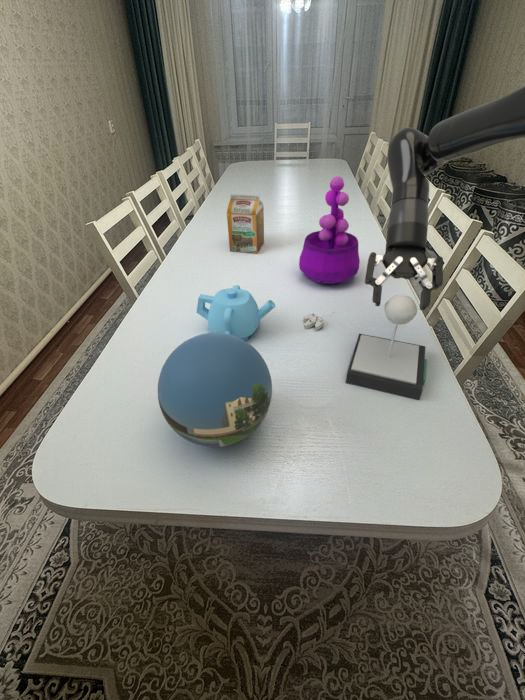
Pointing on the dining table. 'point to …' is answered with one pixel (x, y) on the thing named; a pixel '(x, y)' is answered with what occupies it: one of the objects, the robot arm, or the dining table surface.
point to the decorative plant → (331, 243)
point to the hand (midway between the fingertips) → (400, 307)
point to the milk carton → (245, 223)
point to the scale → (388, 366)
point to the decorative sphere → (214, 389)
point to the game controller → (313, 321)
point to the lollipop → (400, 312)
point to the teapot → (233, 312)
